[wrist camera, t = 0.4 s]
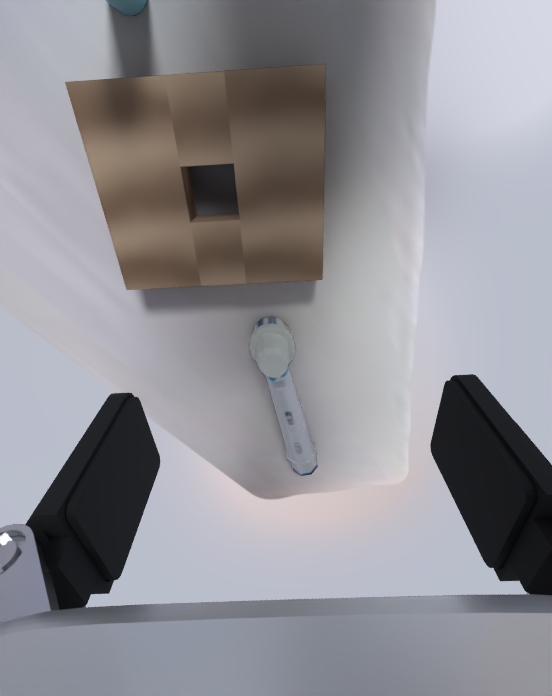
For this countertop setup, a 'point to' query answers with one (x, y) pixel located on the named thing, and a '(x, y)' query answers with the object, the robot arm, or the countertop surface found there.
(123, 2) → the peg
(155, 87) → the socket block
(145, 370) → the countertop surface
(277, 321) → the white handheld massager
